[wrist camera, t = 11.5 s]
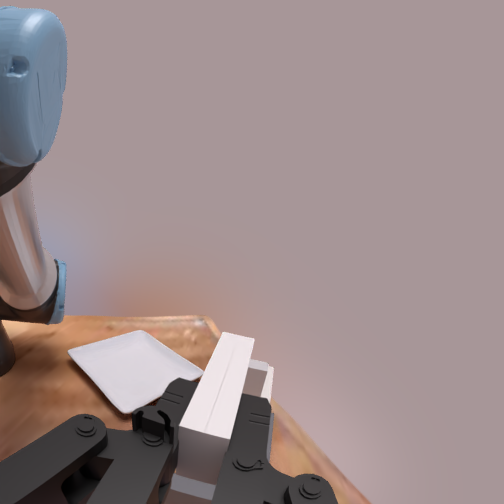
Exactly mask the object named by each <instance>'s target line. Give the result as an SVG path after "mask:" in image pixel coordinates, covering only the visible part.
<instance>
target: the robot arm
mask: <svg viewBox="0 0 504 504" xmlns="http://www.w3.org/2000/svg"><path fill="white" fill-rule="evenodd" d="M66 72H67V41H66V35H65V31H64V28H63V25H62V24H61V23H60V20H59V19H58V18H57V16H56V15H55V14H53V13H52V12H50V11H48V10H44V9H22V8H21V9H20V8H17V7H14V6H7V7H6V6H3V7H0V376H1V375H3V374H5V373H6V372H7V371H9V370H10V369H11V367H12V366H13V364H14V362H15V353H14V348H13V344H12V342H11V341H10V339H9V337H8V335H7V332H6V330H5V328H4V326H3V324H2V321H1V320H9V321H19V322H30V323H42V324H46V325H49V324H59V323H61V322H62V320H63V318H64V301H65V286H66V263H65V262H64V261H59V260H58V259H55V260H54V259H53V258H52V256H51V255H50V253H49V252H48V251H47V250H46V249H45V248H44V247H42V242H41V238H40V233H39V228H38V223H37V217H36V212H35V207H34V199H33V193H32V185H31V177H30V174H31V173H32V171H33V170H34V168H35V166H36V164H37V162H39V161H40V160H42V159H43V158H44V157H45V156H46V154H47V153H48V152H49V150H50V148H51V146H52V144H53V141H54V138H55V135H56V132H57V128H58V125H59V120H60V116H61V111H62V94H63V92H64V90H65V83H66ZM254 340H255V339H253V338H248V337H244V336H239V335H235V334H231V333H227V332H223V333H222V335H221V337H220V340H219V342H218V344H217V346H216V348H215V350H214V352H213V355H212V357H211V359H210V361H209V363H208V365H207V367H206V369H205V372H204V374H203V376H202V378H201V380H200V382H199V383H197V382H193V381H190V380H186V379H183V378H180V377H179V378H177V379H175V380H174V381H172V382H170V383H169V385H168V386H167V388H166V389H165V392H164V393H163V394H162V396H161V398H160V399H159V401H158V402H157V404H156V406H152V405H151V406H142V407H139V408H136V409H135V410H134V411H133V412H132V427H133V430H128V431H125V430H115V429H109V428H106V427H105V424H104V423H103V422H102V421H101V420H100V419H99V418H97V417H95V416H93V415H89V414H79V415H76V416H74V417H71V418H70V419H68V420H67V421H65V422H64V423H62V424H61V425H59V426H57V427H56V428H54V429H53V430H51V431H50V432H48V433H46V434H45V435H43V436H42V437H40V438H39V439H37V440H35V441H34V442H32V443H31V444H29V445H27V446H26V447H24V448H22V449H21V450H19V451H18V452H16V453H14V454H13V455H11V456H9V457H8V458H6V459H4V460H3V461H1V462H0V504H164V502H165V500H166V498H167V495H168V493H169V490H170V488H171V484H172V477H173V474H174V472H175V470H176V475H180V476H183V477H186V478H190V479H193V480H197V481H201V482H204V483H208V484H212V485H216V487H215V491H214V494H213V498H212V501H211V504H338V502H337V499H336V497H335V494H334V492H333V489H332V487H331V485H330V484H329V483H328V481H326V480H325V479H324V478H322V477H320V476H317V475H315V474H302V475H298V476H296V477H295V478H293V477H290V476H288V475H285V474H283V473H281V472H279V471H277V470H276V469H274V468H273V467H272V466H271V465H270V463H269V462H268V459H267V444H268V436H269V425H270V417H271V405H270V403H269V401H268V399H267V398H263V397H258V396H253V395H249V394H244V393H242V391H243V387H244V383H245V378H246V374H247V370H248V366H249V362H250V357H251V353H252V349H253V344H254Z"/></svg>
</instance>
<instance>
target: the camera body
mask: <svg viewBox="0 0 504 504" xmlns="http://www.w3.org/2000/svg"><path fill="white" fill-rule="evenodd" d="M273 420H274V413H271V417H270V425H269V436H268V444H267V459H268V462H269V460H270V451H271V441H272V431H273ZM215 487H216V485H212V484H208V483H204V482H201V481H197V480H193V479H190V478H186V477H183V476H180V475H176V470H175V472H174V474H173V477H172V484H171V488H170V490H169V493H168V495H167V498H166V500H165V502H164V504H211V501H212V498H213V494H214V491H215Z"/></svg>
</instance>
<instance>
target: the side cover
mask: <svg viewBox="0 0 504 504" xmlns="http://www.w3.org/2000/svg"><path fill="white" fill-rule="evenodd" d="M268 364H269V363H266V362H262V361H257V360H252V359H250V362H249V366H248V370H247V374H246V378H245V383H244V387H243V391H242V393H244V394H249V395H253V396H258V397H263V398H267V399H268V401H269V403H270V399H271V389H272V380H273V370H274V367H269V366H268Z"/></svg>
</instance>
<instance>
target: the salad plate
mask: <svg viewBox="0 0 504 504" xmlns="http://www.w3.org/2000/svg"><path fill="white" fill-rule="evenodd" d="M68 354H69V356H70V357H71V358H72V359H73V360H74V361H75V363H76V364H77V365H78V366H79V367H80V368H81V369H82V370H83V371H84V372H85V373H86V374H87V375H88V376H89V377H90V378H91V379H92V381H93V382H94V383H95V384H96V385H97V386H98V387H99V389H100V390H101V391H102V392H103V393H104V394H105V396H106V397H107V398H108V399H109V400H110V401H111V403H112V404H113V405H114V406H115V407H116V408H117V409H118V410H119V411H120V412H122V413H124V414H131V413H132V412H133V411H134V410H135V409H136V408H139V407H142V406H145V405H147V404H148V403H150V402H152V401H154V400H156V399H158V398H159V397H161V396H162V394H163V393H164V392H165V389H166V388H167V386H168V385H169V383H170V382H172V381H174V380H175V379H177V378H179V377H180V378H183V379H186V380H190V381H195V380H196V379H198V378H200V377H201V376H202V375H203V374H204V371H203V370H201V369H200V368H199V367H197V366H195V365H194V364H192V363H191V362H189V361H188V360H186V359H185V358H183V357H181V356H180V355H178V354H177V353H175V352H174V351H172V350H171V349H169V348H168V347H166V346H165V345H164V344H162V343H161V342H159V341H158V340H156V339H155V338H154V337H152V336H151V335H150V334H148V333H146V332H145V331H143V330H137V331H133V332H130V333H126V334H123V335H119V336H116V337H112V338H109V339H105V340H102V341H98V342H95V343H91V344H87V345H84V346H80V347H77V348H73V349H70V350H68Z"/></svg>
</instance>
